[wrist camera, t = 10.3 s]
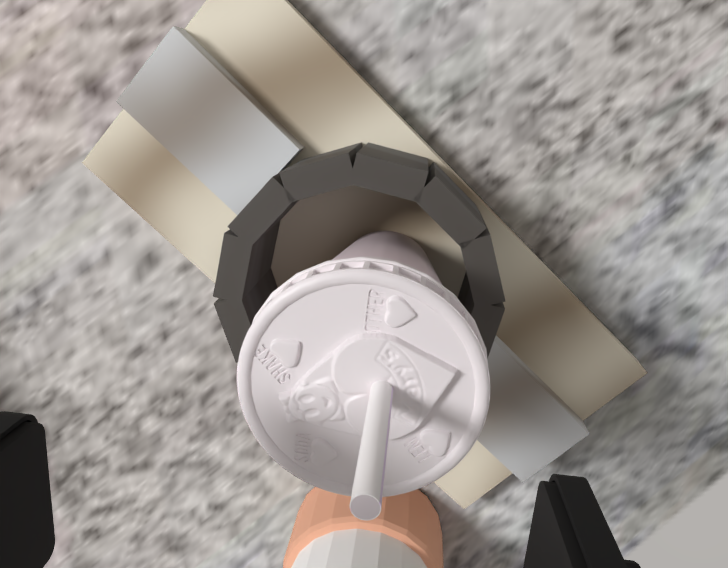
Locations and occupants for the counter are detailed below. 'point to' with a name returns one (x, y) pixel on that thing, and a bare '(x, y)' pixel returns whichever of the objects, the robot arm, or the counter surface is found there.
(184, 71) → the socket rail
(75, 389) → the counter surface
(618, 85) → the counter surface
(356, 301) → the smoothie
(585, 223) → the counter surface
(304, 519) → the pepper shaker
